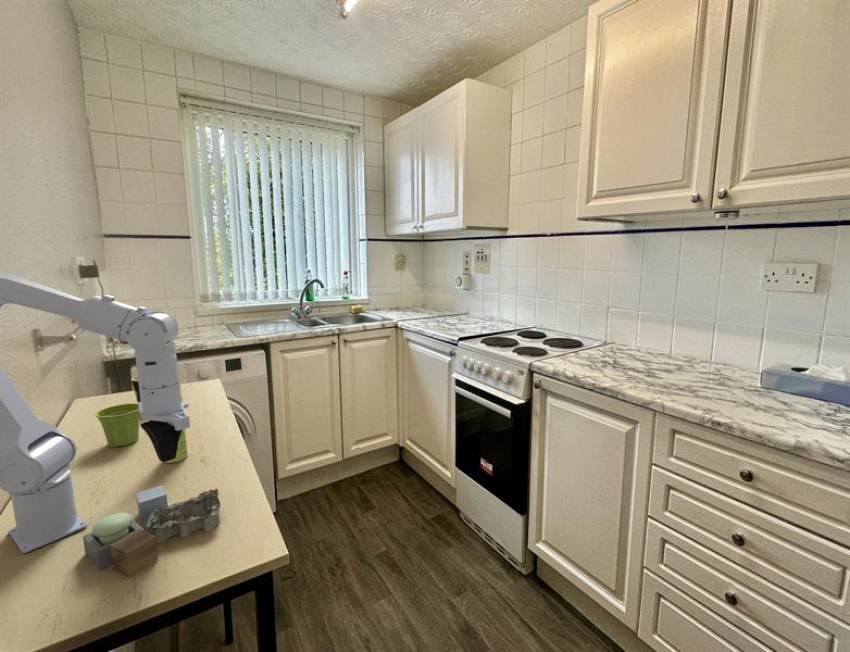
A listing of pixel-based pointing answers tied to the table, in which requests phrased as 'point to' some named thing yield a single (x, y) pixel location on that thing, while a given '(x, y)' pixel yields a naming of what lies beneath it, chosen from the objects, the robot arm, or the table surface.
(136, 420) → the plant pot
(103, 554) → the button housing
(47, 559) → the table surface
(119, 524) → the green button
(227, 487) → the table surface
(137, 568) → the walnut block
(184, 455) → the tube
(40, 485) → the robot arm
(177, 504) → the egg carton
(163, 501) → the slate-blue block
